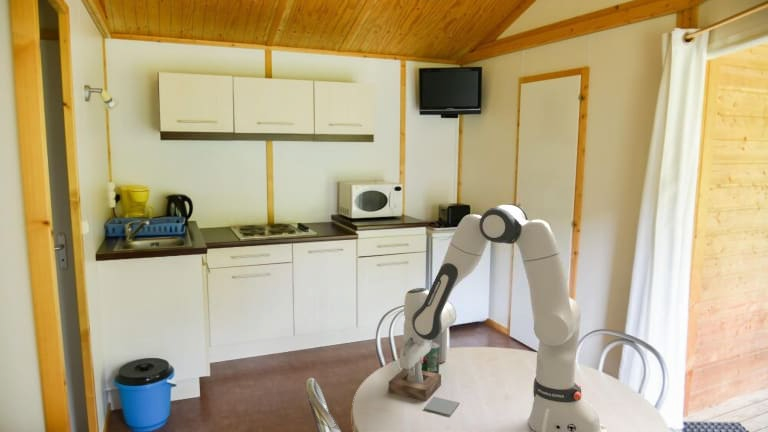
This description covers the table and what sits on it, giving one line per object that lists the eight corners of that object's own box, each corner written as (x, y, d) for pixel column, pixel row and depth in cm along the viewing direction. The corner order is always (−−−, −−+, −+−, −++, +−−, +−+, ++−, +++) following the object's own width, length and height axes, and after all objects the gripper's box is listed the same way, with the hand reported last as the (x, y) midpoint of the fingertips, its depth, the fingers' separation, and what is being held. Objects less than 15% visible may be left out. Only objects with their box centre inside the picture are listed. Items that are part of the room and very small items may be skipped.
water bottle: (441, 365, 197) (442, 303, 194) (424, 360, 202) (425, 300, 199) (452, 358, 205) (454, 298, 202) (436, 354, 209) (437, 295, 206)
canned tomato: (413, 371, 192) (414, 344, 190) (428, 366, 197) (428, 339, 196) (429, 378, 186) (429, 350, 185) (443, 372, 191) (444, 344, 190)
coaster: (459, 404, 167) (459, 402, 167) (450, 416, 159) (450, 414, 159) (434, 398, 171) (434, 396, 171) (423, 409, 163) (423, 408, 163)
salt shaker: (422, 393, 174) (422, 357, 173) (405, 391, 175) (406, 355, 174) (424, 385, 180) (424, 350, 178) (408, 384, 181) (408, 349, 180)
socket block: (440, 385, 181) (441, 374, 180) (426, 401, 168) (426, 390, 168) (405, 377, 187) (405, 366, 187) (388, 392, 175) (388, 381, 174)
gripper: (412, 345, 165) (411, 385, 166) (435, 327, 183) (434, 363, 184) (395, 341, 168) (394, 381, 169) (419, 324, 186) (418, 360, 187)
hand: (415, 372), depth 177 cm, fingers closed on salt shaker, 4 cm apart
